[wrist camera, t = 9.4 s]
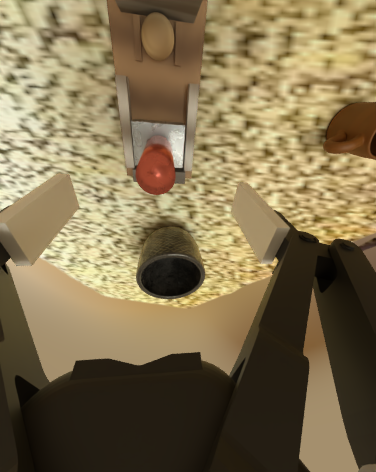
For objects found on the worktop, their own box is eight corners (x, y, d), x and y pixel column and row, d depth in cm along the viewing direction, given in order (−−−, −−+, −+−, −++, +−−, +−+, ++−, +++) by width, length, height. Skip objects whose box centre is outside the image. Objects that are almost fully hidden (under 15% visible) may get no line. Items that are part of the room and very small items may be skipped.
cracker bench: (105, -37, 21) (75, -108, 14) (206, -18, 22) (226, -72, 15) (129, 171, 35) (120, 190, 28) (189, 174, 37) (195, 193, 30)
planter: (134, 250, 47) (126, 292, 37) (154, 207, 40) (151, 244, 30) (181, 264, 52) (186, 304, 42) (206, 228, 45) (218, 265, 35)
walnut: (155, 10, 22) (154, -8, 19) (179, 43, 24) (182, 31, 21) (136, 43, 24) (132, 32, 20) (160, 71, 25) (160, 65, 22)
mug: (299, 160, 37) (333, 176, 30) (303, 119, 33) (344, 124, 25) (359, 141, 36) (410, 152, 29) (372, 95, 32) (436, 94, 24)
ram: (134, 118, 28) (110, 134, 16) (182, 122, 29) (196, 140, 17) (138, 158, 32) (120, 197, 19) (180, 161, 33) (190, 200, 20)
